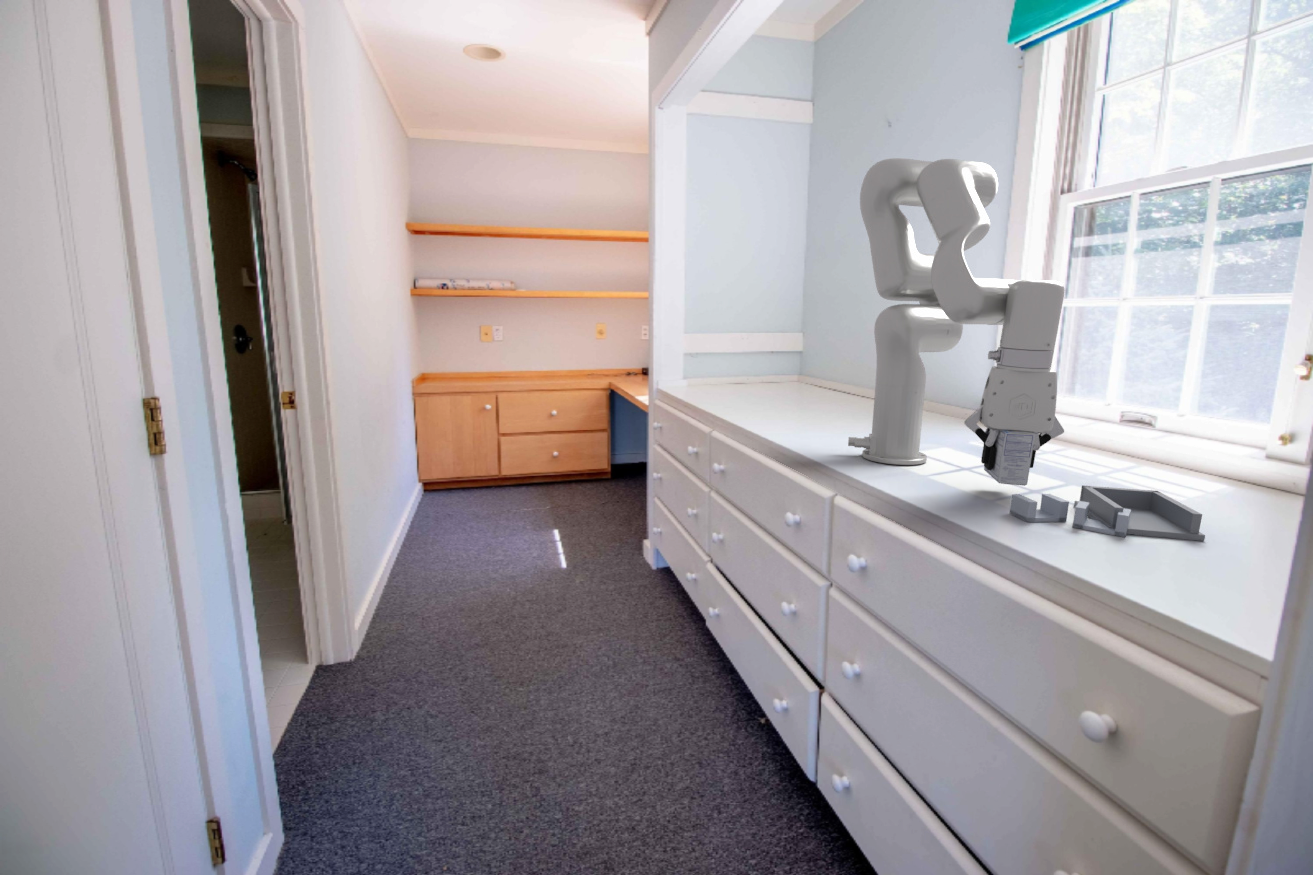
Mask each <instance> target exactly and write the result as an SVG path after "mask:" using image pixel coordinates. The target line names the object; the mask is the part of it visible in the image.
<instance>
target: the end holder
mask: <svg viewBox="0 0 1313 875" xmlns="http://www.w3.org/2000/svg"><path fill="white" fill-rule="evenodd" d="M1079 501H1083V502H1089V509H1088V516H1087V518H1088V519H1093V520H1098V521H1100V522H1101V523H1103V524H1104V525H1105V526H1107V527H1108V528H1110V529H1116V522H1117V516H1118V513H1119V511H1121V512H1123V509H1124V508H1125V509H1131V514H1130V520H1129V525H1128V528H1127V534H1126V535H1130V534H1135V535H1134V536H1142V535H1143V536H1144V537H1155V538H1156V537H1157V538H1167V539H1176V540H1177V539H1178V540H1187V541H1189V540H1190V541H1200V542H1205V539H1206V535H1205V534H1203V533H1202V532H1200V528H1201V523H1202V517H1203V514H1202V513H1201V512H1198V511H1197V510H1195V509H1192V508H1191V507H1189V506H1188V505H1185V504H1183V503H1182V502H1179V501H1177V500H1176V499H1174V498H1172V497H1170V496H1169V495H1166V494H1164V493H1162V492H1160V491H1159V490H1154V489H1153V490H1152V489H1151V490H1150V489H1137V488H1136V489H1135V488H1122V487H1110V486H1108V487H1107V486H1095V485H1084V484H1083V485H1081V491H1080V496H1079V500H1074V503H1073V507H1076V505H1077V504H1078V502H1079ZM1143 536H1142V537H1143Z"/></svg>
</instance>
